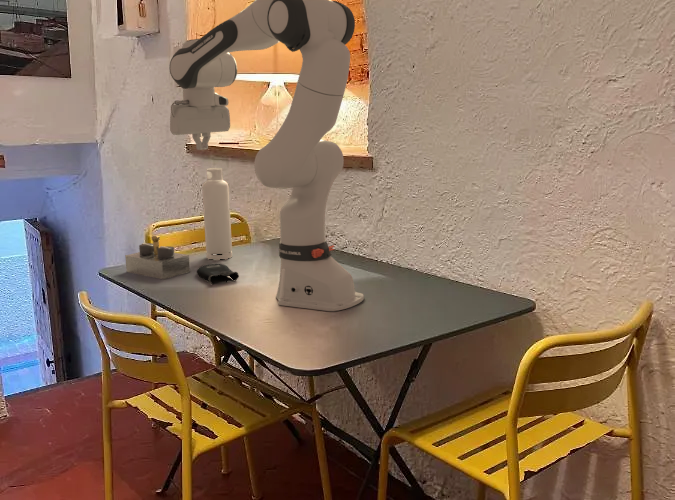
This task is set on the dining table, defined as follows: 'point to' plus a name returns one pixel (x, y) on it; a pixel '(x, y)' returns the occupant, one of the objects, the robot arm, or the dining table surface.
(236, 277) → the black pouch
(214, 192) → the bottle
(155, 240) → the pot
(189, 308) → the dining table surface
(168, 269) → the mount
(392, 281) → the dining table surface
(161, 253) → the knob near
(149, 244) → the knob far
